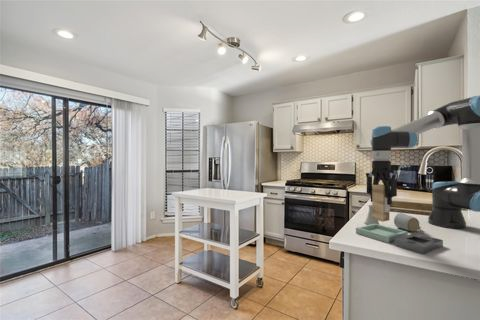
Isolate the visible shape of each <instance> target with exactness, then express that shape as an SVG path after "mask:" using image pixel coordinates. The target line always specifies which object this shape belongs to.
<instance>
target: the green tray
mask: <svg viewBox="0 0 480 320" xmlns="http://www.w3.org/2000/svg"><path fill="white" fill-rule="evenodd" d="M408 232H409V231H407V230H404V229H400V228H394V227H390V226H386V225H383V224H380V223H379V224H370V225H367V224H366V225H362V226H357V227H355V234H357V235H361V236H363V237H367V238H371V239H374V240H378V241H381V242H384V243H386V244H387V243H388V244H390V243H394V239H397V238H400V237H404V236H407V235H409V233H408Z"/></svg>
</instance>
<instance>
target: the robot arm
mask: <svg viewBox="0 0 480 320" xmlns="http://www.w3.org/2000/svg"><path fill="white" fill-rule="evenodd" d="M452 125H457V126H458V127H457V128H459V129H461V145H462V146H461V148H462V149H461V150H462V151H461V153H462V156H461V166H462V167H461V172H462V173H461V175H462V177H461V179H459V180H458V181H436V182H433V183H432V189H431V190H432V191H431V193H432V194H431V196H432V198H431V199H432V203H431V204H432V208H431V211H430V213H429V216H428V217H427V218H428V219H427V220H428V223H429V224H431V225H434V226H439V227H443V228H449V229H465V228H467V222H466V219H465V216H464V215H463V212H462V210H468V211H469V210H470V211H473V212H477V213H478V212H479V213H480V95H475V96H471V97H467V98H463V99H460V100H455V101H452V102H448V103H447V104H444V105H442V106H439V107H438V108H435V109H433V110H431V111H429V112H427V115H424V116H422V117H419V118H417V119H414V120H413V121H410V122H408V123H405V124H403V125H400V126H397V127H396V128H393V129H392V127H391V126H388V125H381V126H375V127H373V128H372V131H371V138H370V146H371V160H372V161H371V169H372V170H371V172H366V173H365V177H366V193H367V194H368V195H370V203H372V185H378V184H379V183H380V182H382V185H384V186H385V192H386V196H387V197H385V212H389V213H390V212H391V209H390V208H391V205H393V198H394V197H397V196H398V195H397V194H398V191H397V190H398V189H397V187H398V185H397V184H398V181H397V180H398V178H399V175H398V174H394V173H393V172H392V170H391V169H392V168H391V167H392V161H391V159H392V149H399V148H401V149H402V148H405V149H408V148H409V149H410V148H413V147H415V146H416V145H417V144H418V142H419V136H418V135H420V134H423V133H426V132H428V131H430V130H432V129H440V128H442V127H446V126H452Z"/></svg>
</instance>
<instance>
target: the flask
mask: <svg viewBox="0 0 480 320" xmlns="http://www.w3.org/2000/svg"><path fill="white" fill-rule="evenodd" d="M364 224H366V225H370V224H379V225H380V221H379V220H374V219H372V204H370V205H368V213H367V216H366V218H365V221H364Z"/></svg>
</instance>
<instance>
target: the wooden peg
mask: <svg viewBox="0 0 480 320" xmlns="http://www.w3.org/2000/svg"><path fill="white" fill-rule="evenodd" d="M385 197H387V196H386V192H385V186H384V184H378V185H373V184H372V202H371V205H372V219H374V220H378V222H387V221H390V212H385Z"/></svg>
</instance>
